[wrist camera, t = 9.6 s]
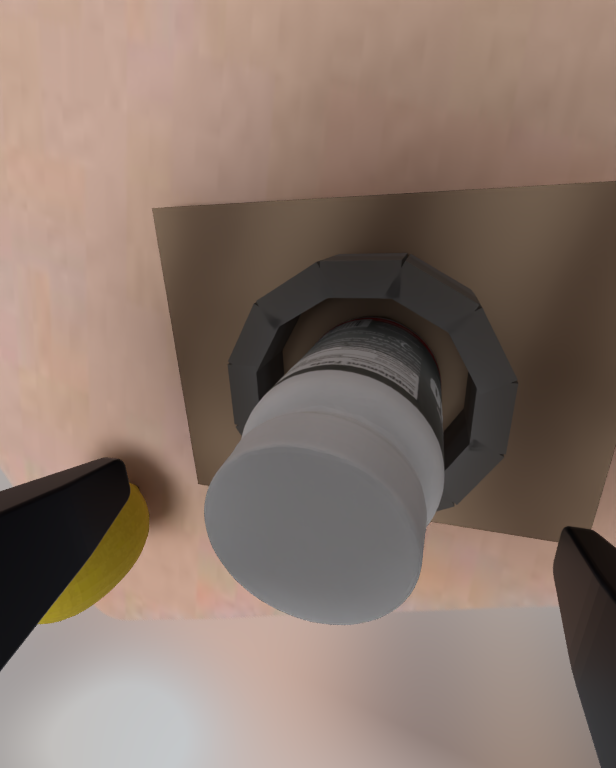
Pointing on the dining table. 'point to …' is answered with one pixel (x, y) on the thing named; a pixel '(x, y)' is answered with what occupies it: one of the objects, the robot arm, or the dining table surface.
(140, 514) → the lemon
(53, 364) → the dining table surface
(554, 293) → the socket board
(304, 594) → the pill bottle
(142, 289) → the dining table surface
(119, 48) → the dining table surface
